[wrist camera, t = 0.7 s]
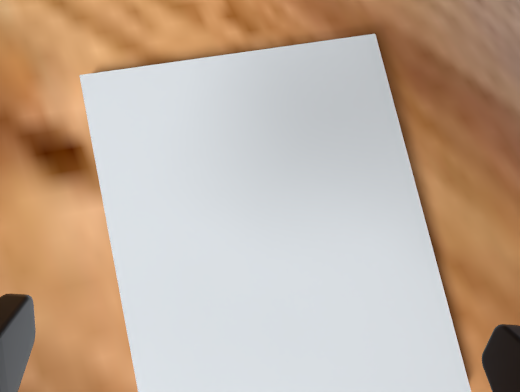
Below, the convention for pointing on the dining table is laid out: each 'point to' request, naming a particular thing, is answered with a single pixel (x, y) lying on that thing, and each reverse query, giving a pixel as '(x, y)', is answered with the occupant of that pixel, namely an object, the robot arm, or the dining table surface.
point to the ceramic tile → (269, 225)
